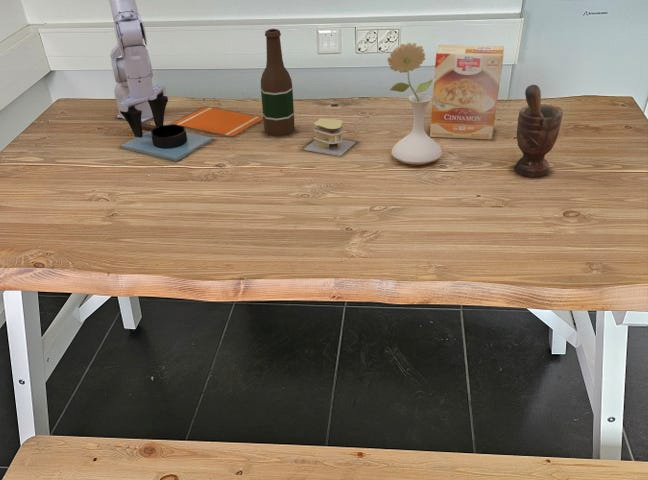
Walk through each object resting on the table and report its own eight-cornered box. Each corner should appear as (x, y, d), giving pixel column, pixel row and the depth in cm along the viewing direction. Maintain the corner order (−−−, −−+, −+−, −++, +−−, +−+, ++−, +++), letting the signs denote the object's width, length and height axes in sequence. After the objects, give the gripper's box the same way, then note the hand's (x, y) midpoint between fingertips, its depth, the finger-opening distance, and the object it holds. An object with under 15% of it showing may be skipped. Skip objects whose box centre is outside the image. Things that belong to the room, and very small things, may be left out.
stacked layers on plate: (302, 149, 163) (301, 127, 160) (319, 136, 170) (318, 114, 166) (340, 156, 160) (340, 133, 156) (356, 142, 166) (356, 119, 162)
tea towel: (172, 124, 181) (172, 123, 180) (205, 107, 190) (205, 106, 189) (232, 137, 172) (232, 136, 172) (264, 119, 181) (264, 117, 180)
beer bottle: (296, 126, 175) (291, 25, 160) (293, 138, 170) (287, 34, 154) (266, 126, 176) (258, 26, 161) (262, 138, 170) (253, 35, 155)
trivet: (121, 148, 170) (120, 145, 169) (159, 129, 179) (158, 126, 178) (176, 161, 162) (175, 158, 161) (213, 140, 171) (212, 137, 170)
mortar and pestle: (549, 187, 142) (568, 89, 130) (507, 183, 145) (521, 86, 132) (552, 164, 151) (570, 70, 138) (512, 161, 153) (526, 68, 140)
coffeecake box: (429, 137, 166) (435, 52, 153) (431, 126, 171) (438, 43, 159) (492, 140, 163) (503, 54, 150) (493, 129, 168) (504, 45, 156)
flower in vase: (444, 150, 159) (454, 35, 143) (438, 171, 151) (448, 51, 135) (388, 147, 162) (392, 34, 146) (380, 167, 154) (382, 49, 138)
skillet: (194, 139, 170) (192, 126, 168) (171, 151, 165) (169, 138, 163) (151, 129, 176) (149, 117, 174) (129, 141, 171) (126, 129, 169)
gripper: (129, 86, 156) (141, 144, 165) (171, 68, 165) (180, 124, 174) (107, 82, 159) (120, 139, 168) (149, 65, 168) (159, 119, 177)
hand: (149, 131), depth 171 cm, fingers open, 7 cm apart
